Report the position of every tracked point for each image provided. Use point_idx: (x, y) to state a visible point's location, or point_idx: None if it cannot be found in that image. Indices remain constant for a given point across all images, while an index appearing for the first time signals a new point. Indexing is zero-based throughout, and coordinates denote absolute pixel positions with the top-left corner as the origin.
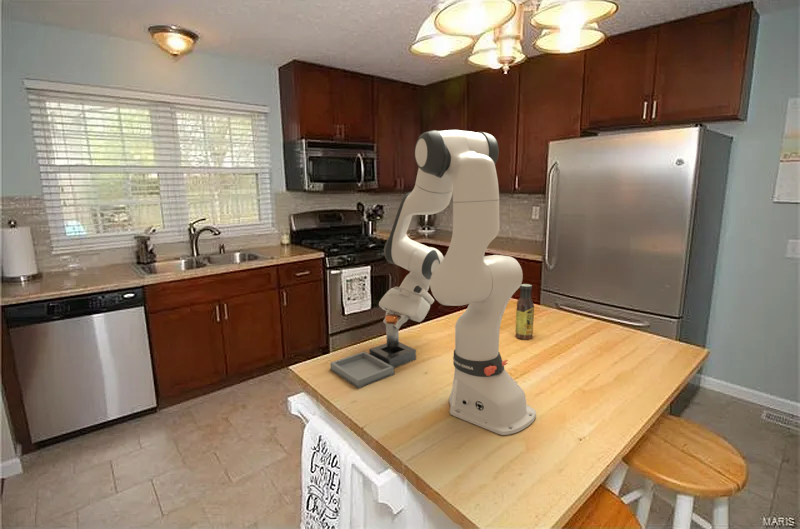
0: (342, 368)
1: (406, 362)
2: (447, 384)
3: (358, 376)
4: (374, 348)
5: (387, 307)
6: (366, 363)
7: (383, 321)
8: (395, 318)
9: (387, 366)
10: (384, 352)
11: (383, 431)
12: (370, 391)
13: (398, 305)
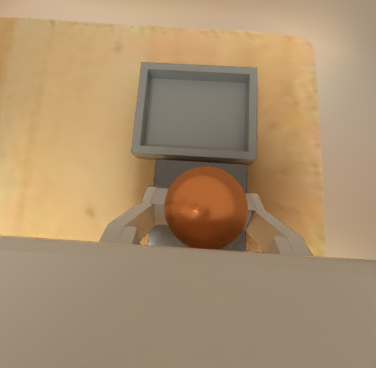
0: (212, 70)
1: None
2: (23, 205)
3: (176, 93)
4: (239, 176)
5: (324, 259)
6: (214, 141)
7: (253, 193)
8: (166, 205)
9: (147, 146)
10: None
11: (21, 31)
12: (122, 85)
13: (207, 310)
